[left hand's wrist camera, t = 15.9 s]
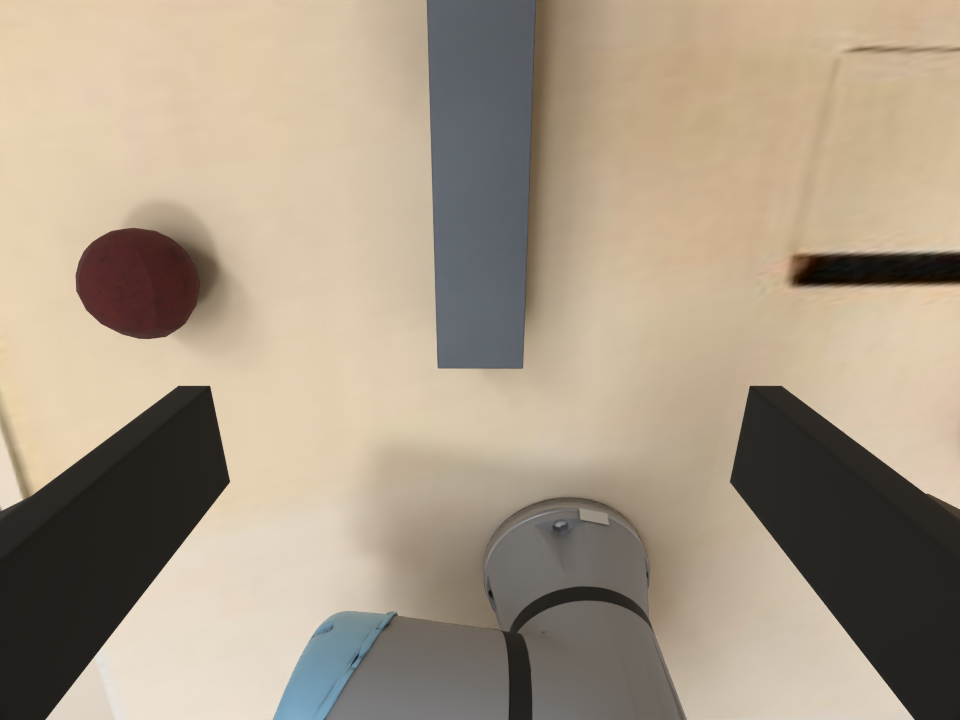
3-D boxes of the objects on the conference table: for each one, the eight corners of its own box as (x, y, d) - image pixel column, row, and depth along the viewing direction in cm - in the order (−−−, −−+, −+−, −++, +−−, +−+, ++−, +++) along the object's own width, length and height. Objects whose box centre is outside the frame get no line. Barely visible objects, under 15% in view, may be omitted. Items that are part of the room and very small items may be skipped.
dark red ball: (209, 224, 38) (152, 237, 31) (224, 325, 40) (175, 357, 34) (108, 220, 38) (29, 232, 31) (130, 321, 40) (62, 353, 34)
